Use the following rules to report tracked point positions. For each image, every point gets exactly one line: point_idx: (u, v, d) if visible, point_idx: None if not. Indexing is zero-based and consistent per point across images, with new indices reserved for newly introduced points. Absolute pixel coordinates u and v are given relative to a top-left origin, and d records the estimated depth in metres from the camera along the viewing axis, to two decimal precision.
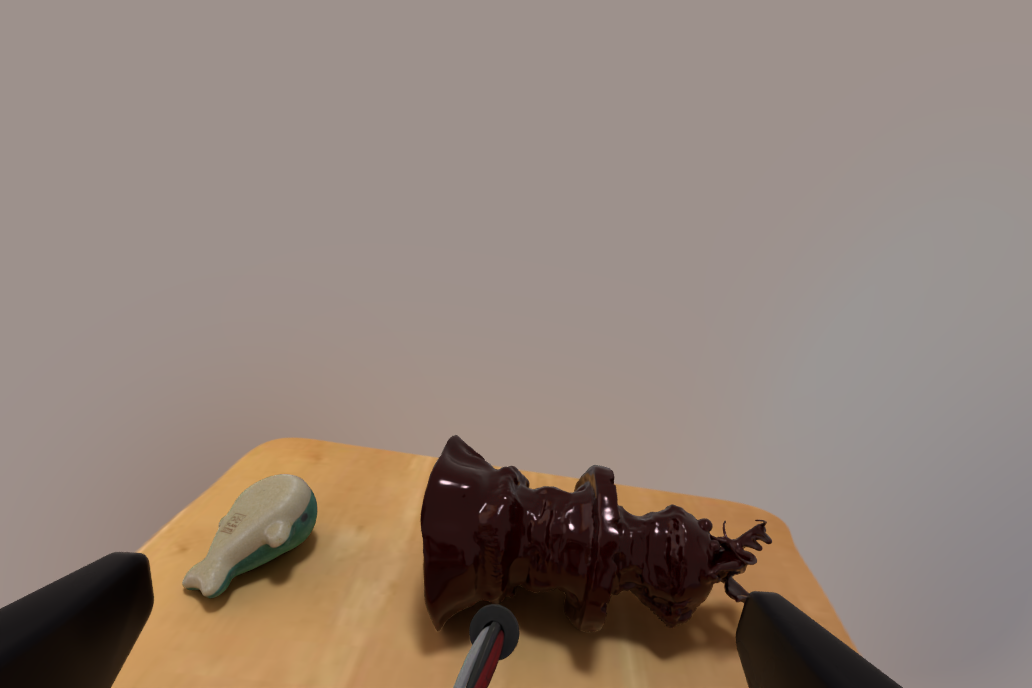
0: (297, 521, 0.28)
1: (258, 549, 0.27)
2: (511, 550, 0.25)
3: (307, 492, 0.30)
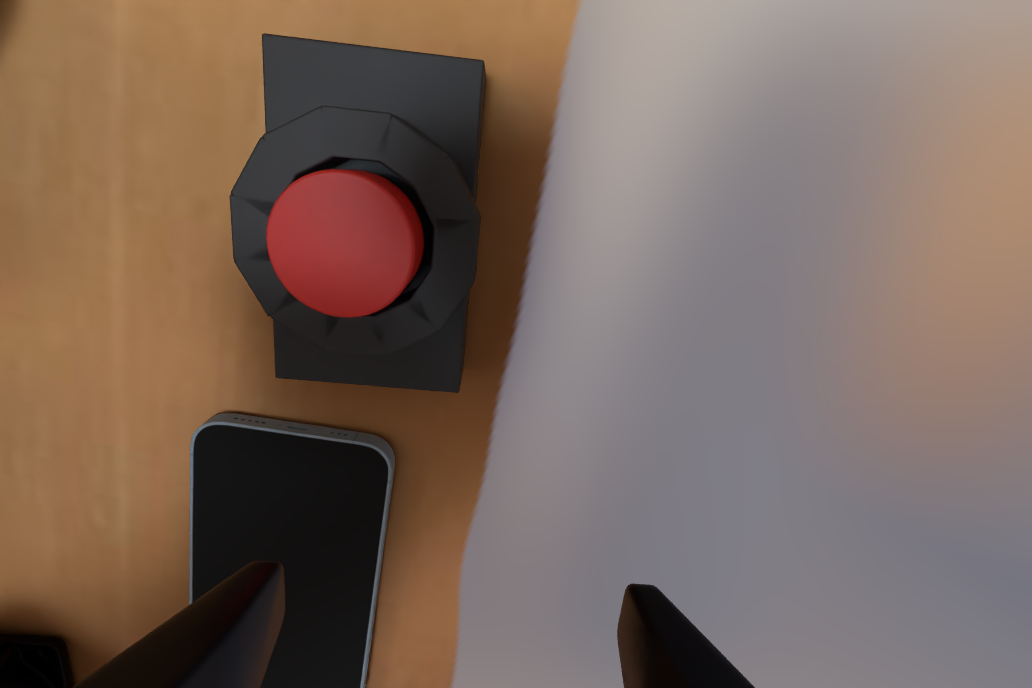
0: None
1: None
2: None
3: None
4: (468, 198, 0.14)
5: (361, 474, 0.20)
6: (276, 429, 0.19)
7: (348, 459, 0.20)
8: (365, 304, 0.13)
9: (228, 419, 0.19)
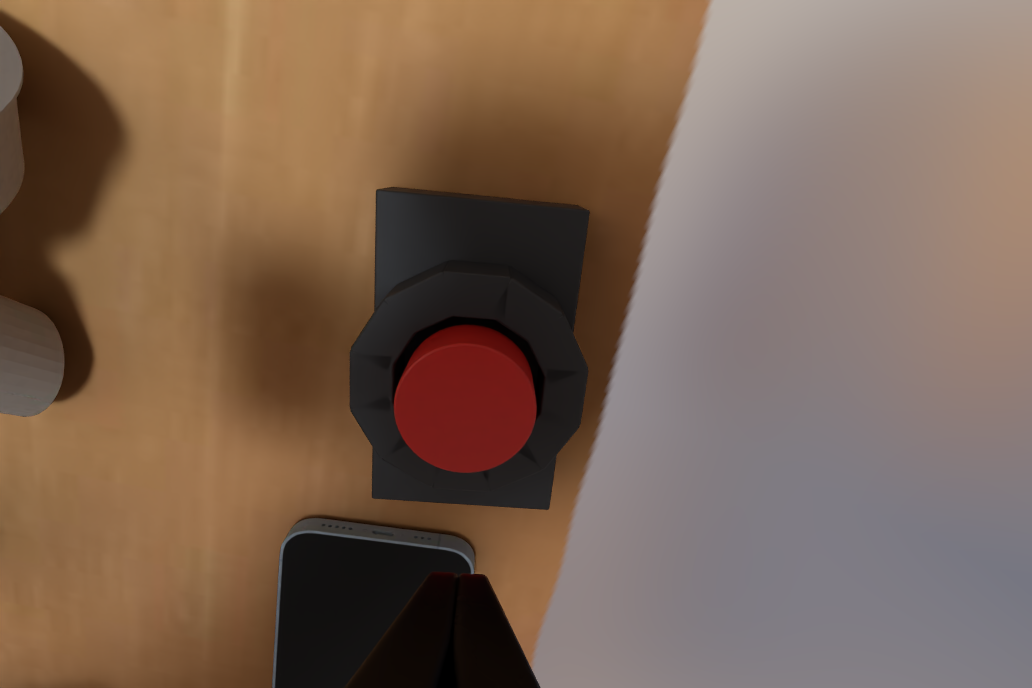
0: None
1: None
2: None
3: None
4: (579, 350, 0.14)
5: None
6: (364, 537, 0.20)
7: (432, 563, 0.20)
8: (485, 461, 0.14)
9: (316, 526, 0.20)
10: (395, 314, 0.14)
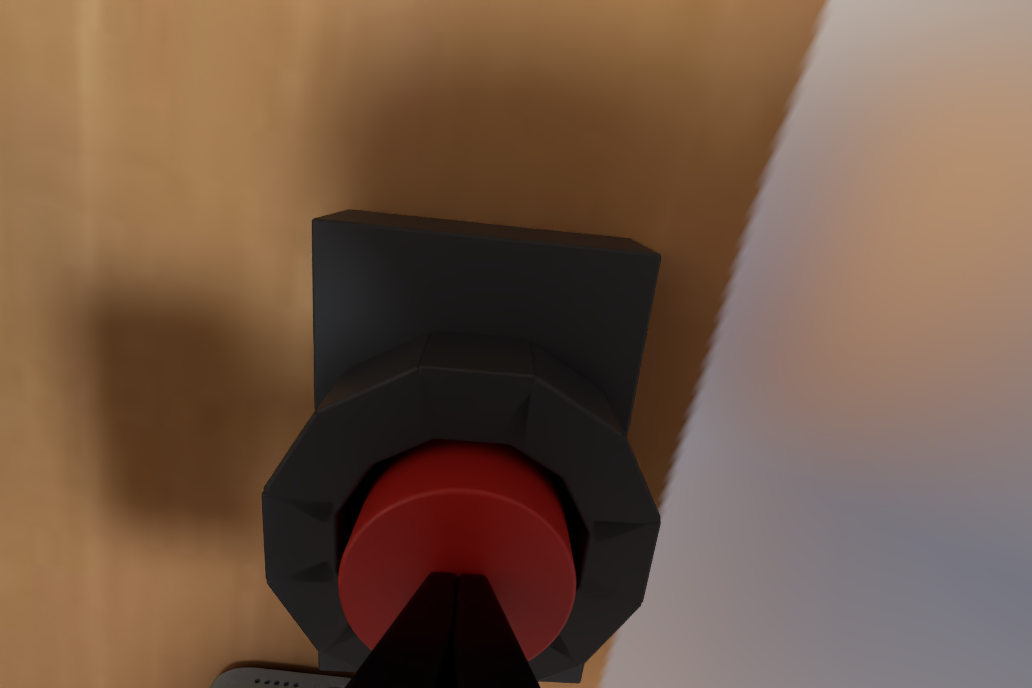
0: None
1: None
2: None
3: None
4: (647, 491, 0.09)
5: None
6: None
7: None
8: None
9: (247, 683, 0.14)
10: (337, 436, 0.08)
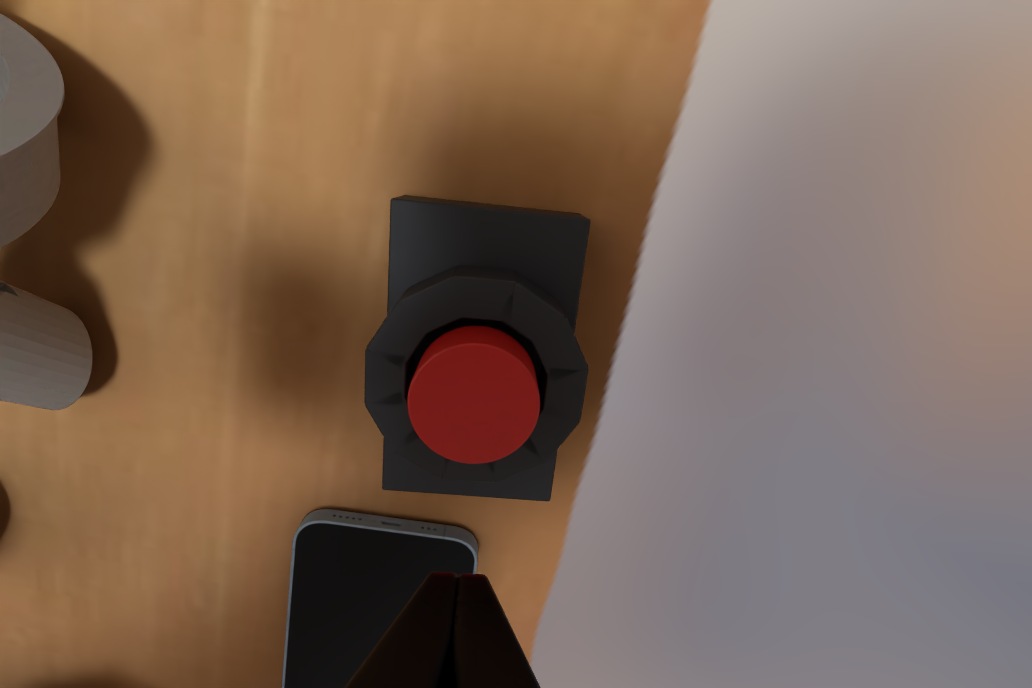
0: None
1: None
2: None
3: None
4: (580, 350, 0.15)
5: (449, 565, 0.21)
6: (373, 527, 0.21)
7: (438, 552, 0.21)
8: (492, 453, 0.15)
9: (327, 517, 0.21)
10: (408, 315, 0.15)
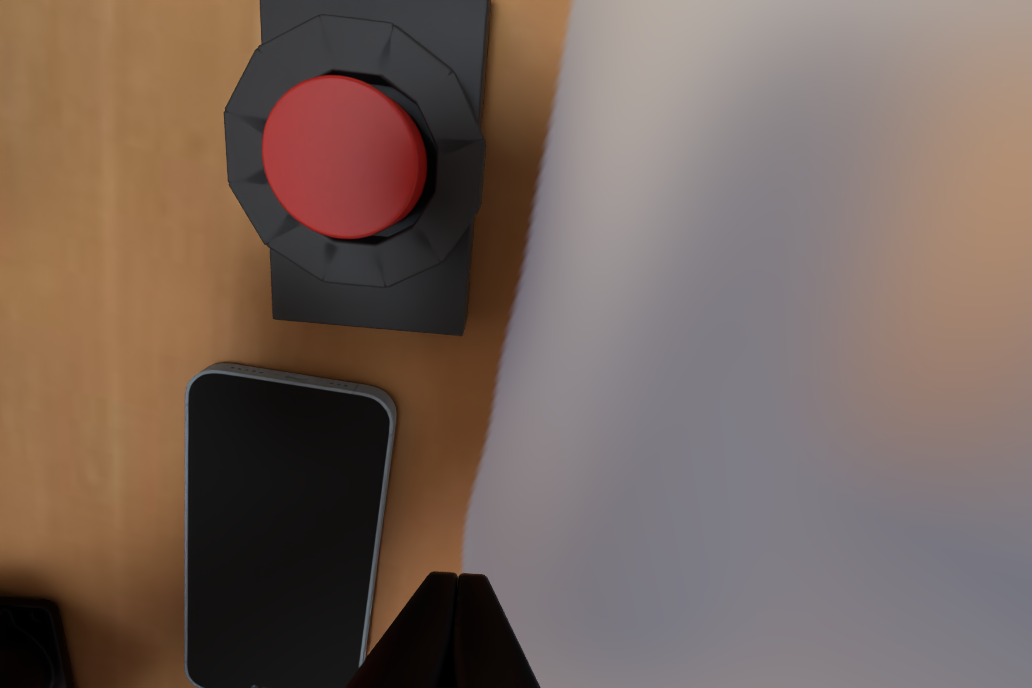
0: None
1: None
2: None
3: None
4: (473, 117, 0.13)
5: (361, 426, 0.19)
6: (274, 378, 0.18)
7: (348, 410, 0.19)
8: (366, 224, 0.13)
9: (224, 368, 0.19)
10: (270, 66, 0.13)
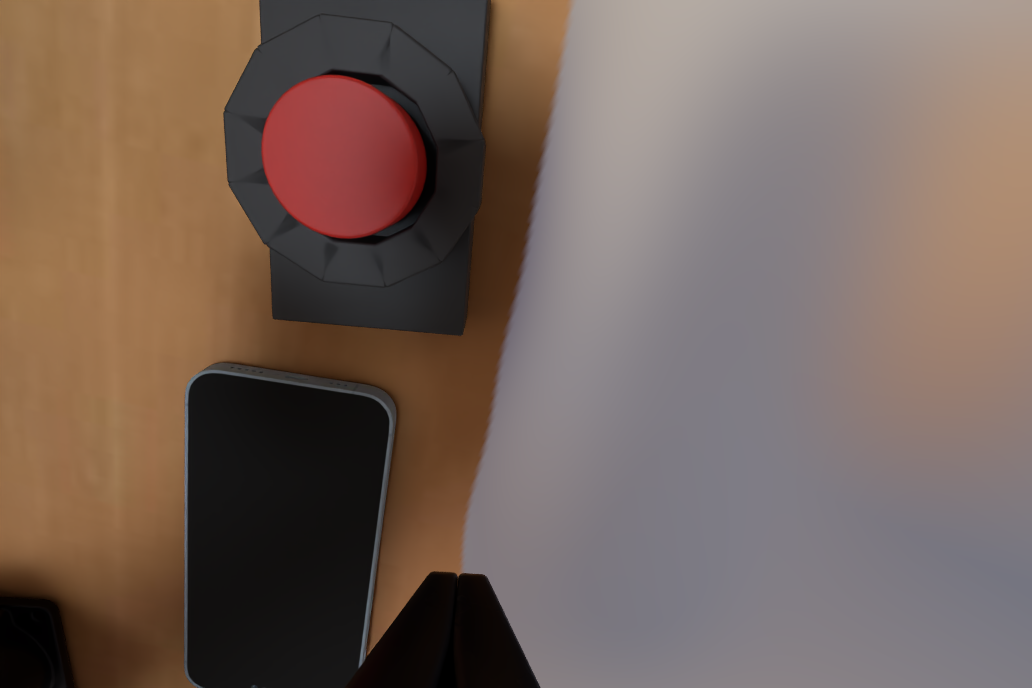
0: None
1: None
2: None
3: None
4: (473, 116, 0.13)
5: (361, 426, 0.19)
6: (274, 378, 0.18)
7: (348, 410, 0.19)
8: (365, 223, 0.13)
9: (224, 368, 0.19)
10: (270, 66, 0.13)
